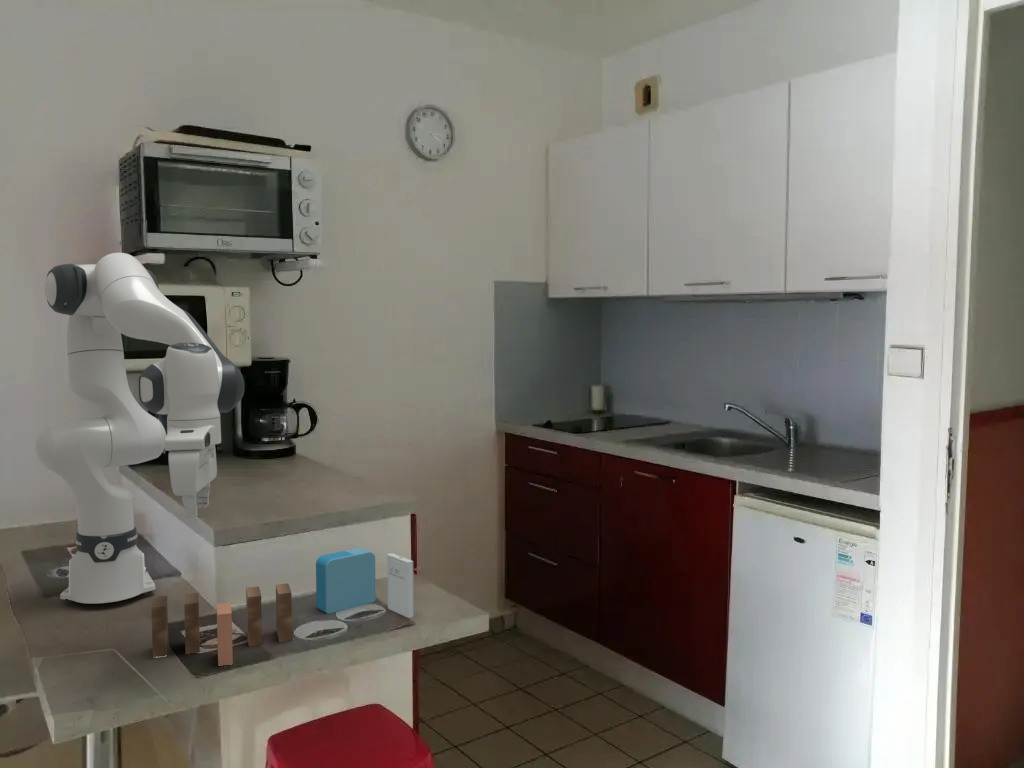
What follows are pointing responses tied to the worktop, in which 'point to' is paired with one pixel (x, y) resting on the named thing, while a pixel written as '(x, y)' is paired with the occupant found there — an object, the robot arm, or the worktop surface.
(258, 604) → the domino
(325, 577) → the blue rounded box
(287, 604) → the domino
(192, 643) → the domino
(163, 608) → the domino
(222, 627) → the domino
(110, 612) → the worktop surface
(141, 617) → the worktop surface
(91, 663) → the worktop surface
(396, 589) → the hard drive
